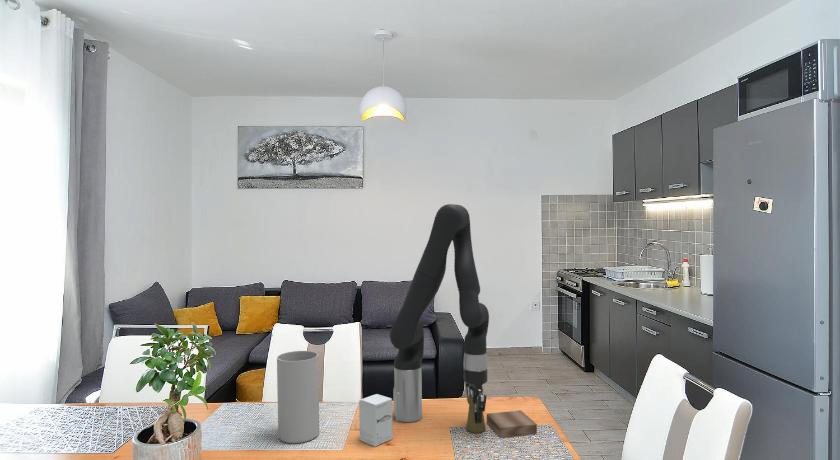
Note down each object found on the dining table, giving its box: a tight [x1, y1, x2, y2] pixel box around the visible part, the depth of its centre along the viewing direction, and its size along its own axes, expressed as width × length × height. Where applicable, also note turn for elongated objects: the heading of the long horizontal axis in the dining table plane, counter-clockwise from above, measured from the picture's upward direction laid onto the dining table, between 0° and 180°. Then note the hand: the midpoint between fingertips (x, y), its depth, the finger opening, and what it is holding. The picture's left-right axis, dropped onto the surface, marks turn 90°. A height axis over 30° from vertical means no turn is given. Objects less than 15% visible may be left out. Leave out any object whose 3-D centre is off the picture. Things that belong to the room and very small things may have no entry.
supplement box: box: [358, 393, 393, 448], centre depth 155 cm, size 7×7×13 cm
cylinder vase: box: [276, 350, 320, 444], centre depth 159 cm, size 12×12×25 cm
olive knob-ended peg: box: [466, 394, 486, 434], centre depth 162 cm, size 6×6×11 cm
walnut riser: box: [486, 410, 538, 439], centre depth 163 cm, size 12×12×3 cm
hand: (475, 420), depth 162 cm, fingers closed on olive knob-ended peg, 4 cm apart
